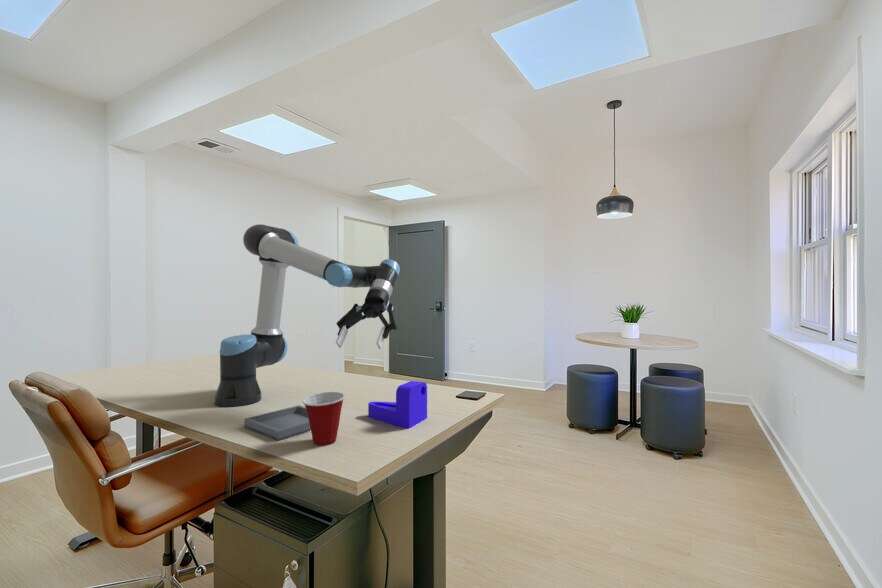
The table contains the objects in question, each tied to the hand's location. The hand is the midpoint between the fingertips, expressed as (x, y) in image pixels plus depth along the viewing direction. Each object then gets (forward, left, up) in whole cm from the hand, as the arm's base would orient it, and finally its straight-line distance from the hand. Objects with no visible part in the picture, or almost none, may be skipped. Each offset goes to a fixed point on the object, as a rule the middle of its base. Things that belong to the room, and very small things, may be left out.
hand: (358, 345), depth 124 cm
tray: (-13, -15, -23) cm, 30 cm away
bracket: (+7, +9, -24) cm, 26 cm away
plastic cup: (+6, -17, -23) cm, 29 cm away
